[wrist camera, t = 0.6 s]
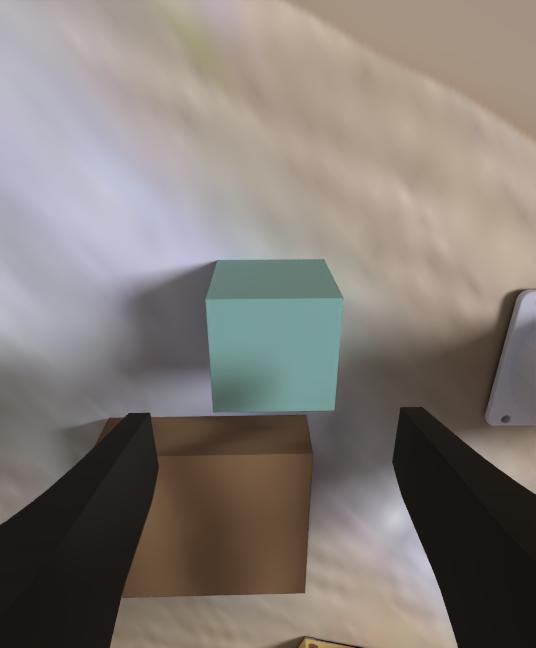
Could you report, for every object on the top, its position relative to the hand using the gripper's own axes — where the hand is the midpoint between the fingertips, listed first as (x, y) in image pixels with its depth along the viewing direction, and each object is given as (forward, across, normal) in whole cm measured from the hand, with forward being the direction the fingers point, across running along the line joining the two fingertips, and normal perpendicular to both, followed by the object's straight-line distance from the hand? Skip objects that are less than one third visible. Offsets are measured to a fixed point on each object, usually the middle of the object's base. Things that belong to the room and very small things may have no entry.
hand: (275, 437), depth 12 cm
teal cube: (+10, 0, 0) cm, 10 cm away
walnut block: (+10, +4, +12) cm, 16 cm away
